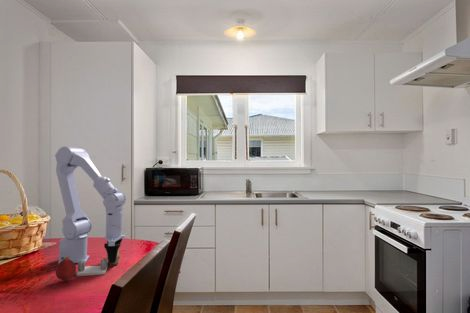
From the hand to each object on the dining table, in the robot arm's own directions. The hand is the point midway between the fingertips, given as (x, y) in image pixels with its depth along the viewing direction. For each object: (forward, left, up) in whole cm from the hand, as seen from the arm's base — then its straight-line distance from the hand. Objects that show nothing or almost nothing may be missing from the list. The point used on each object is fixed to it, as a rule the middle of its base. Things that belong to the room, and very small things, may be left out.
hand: (113, 260), depth 120 cm
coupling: (0, 0, -1) cm, 1 cm away
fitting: (-6, -7, -1) cm, 9 cm away
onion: (-13, -15, -2) cm, 20 cm away
